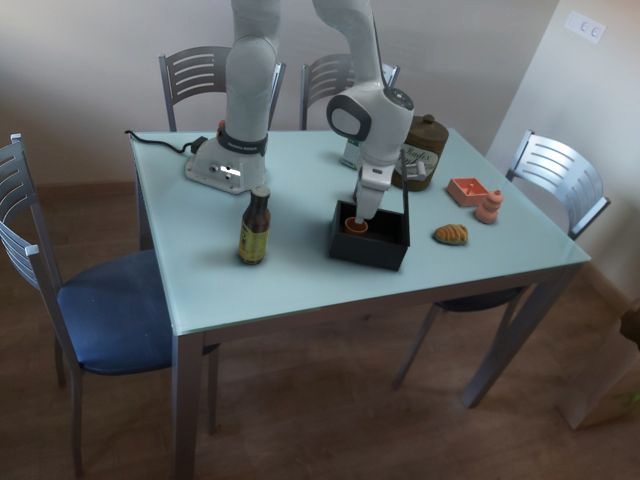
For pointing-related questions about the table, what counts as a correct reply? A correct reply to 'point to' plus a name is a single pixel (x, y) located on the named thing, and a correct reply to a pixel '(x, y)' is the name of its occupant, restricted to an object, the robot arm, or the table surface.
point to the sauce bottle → (255, 226)
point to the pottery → (476, 197)
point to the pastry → (452, 234)
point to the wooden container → (421, 150)
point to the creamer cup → (355, 227)
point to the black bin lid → (420, 175)
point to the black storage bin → (369, 238)
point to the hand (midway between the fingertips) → (358, 209)
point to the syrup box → (351, 153)
